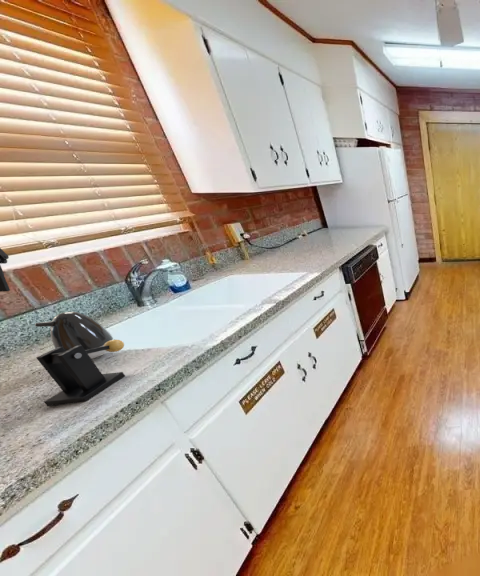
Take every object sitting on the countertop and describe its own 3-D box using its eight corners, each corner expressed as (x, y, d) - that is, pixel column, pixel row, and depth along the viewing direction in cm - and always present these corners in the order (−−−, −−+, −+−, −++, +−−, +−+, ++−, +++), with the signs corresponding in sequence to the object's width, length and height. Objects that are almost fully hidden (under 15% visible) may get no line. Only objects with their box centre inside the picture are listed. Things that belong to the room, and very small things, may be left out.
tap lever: (114, 350, 87) (112, 338, 86) (129, 349, 87) (127, 337, 87) (48, 366, 73) (46, 352, 73) (66, 364, 73) (64, 350, 73)
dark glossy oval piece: (59, 362, 90) (24, 318, 84) (110, 343, 98) (83, 303, 93) (74, 368, 86) (39, 323, 80) (126, 348, 95) (98, 307, 89)
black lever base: (91, 379, 83) (63, 341, 77) (125, 375, 84) (100, 338, 79) (47, 406, 74) (12, 365, 68) (86, 402, 75) (55, 361, 70)
